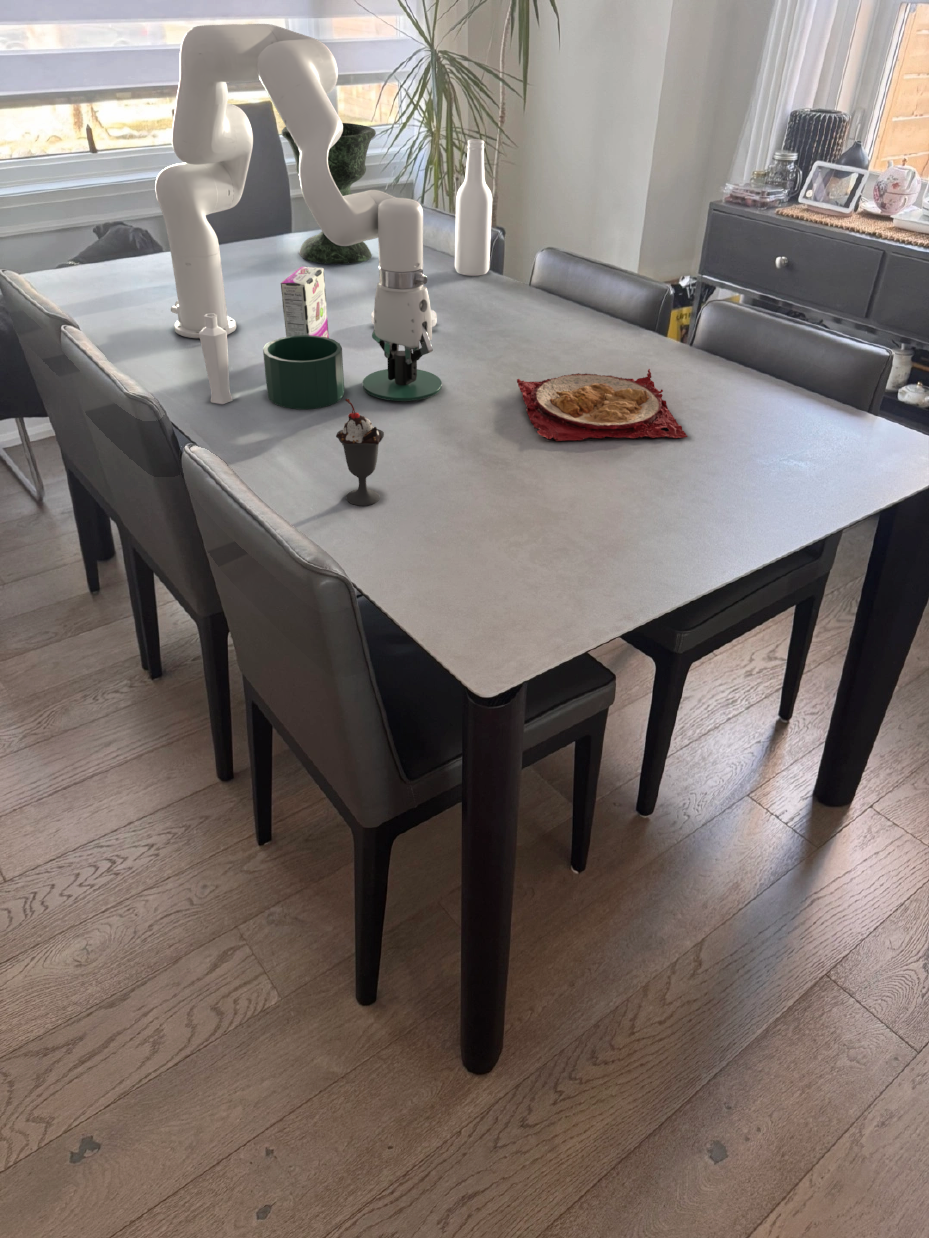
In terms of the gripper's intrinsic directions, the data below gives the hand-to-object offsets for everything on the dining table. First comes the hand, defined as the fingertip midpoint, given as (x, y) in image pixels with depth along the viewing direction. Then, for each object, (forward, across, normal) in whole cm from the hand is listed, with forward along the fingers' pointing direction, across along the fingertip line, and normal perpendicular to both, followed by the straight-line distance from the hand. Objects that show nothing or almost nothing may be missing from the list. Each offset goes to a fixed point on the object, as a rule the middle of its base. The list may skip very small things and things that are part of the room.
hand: (402, 379), depth 169 cm
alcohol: (+2, +33, -73) cm, 80 cm away
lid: (+1, 0, 0) cm, 1 cm away
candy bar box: (+2, +23, 0) cm, 23 cm away
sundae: (+2, -21, +37) cm, 43 cm away
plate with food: (+2, -34, -13) cm, 36 cm away
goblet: (+2, +69, -61) cm, 92 cm away
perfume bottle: (+2, +22, +24) cm, 33 cm away
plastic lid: (+2, +21, -28) cm, 35 cm away
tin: (+2, +12, +13) cm, 18 cm away
